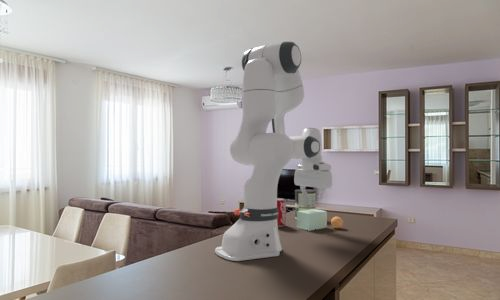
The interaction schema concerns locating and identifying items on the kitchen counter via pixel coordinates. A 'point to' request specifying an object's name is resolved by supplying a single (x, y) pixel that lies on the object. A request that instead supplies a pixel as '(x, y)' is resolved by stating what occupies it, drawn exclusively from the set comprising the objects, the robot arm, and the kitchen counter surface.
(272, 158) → the robot arm
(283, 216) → the soda can
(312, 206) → the coffee can
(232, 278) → the kitchen counter surface
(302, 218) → the mint green block
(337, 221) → the orange sphere
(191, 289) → the kitchen counter surface
